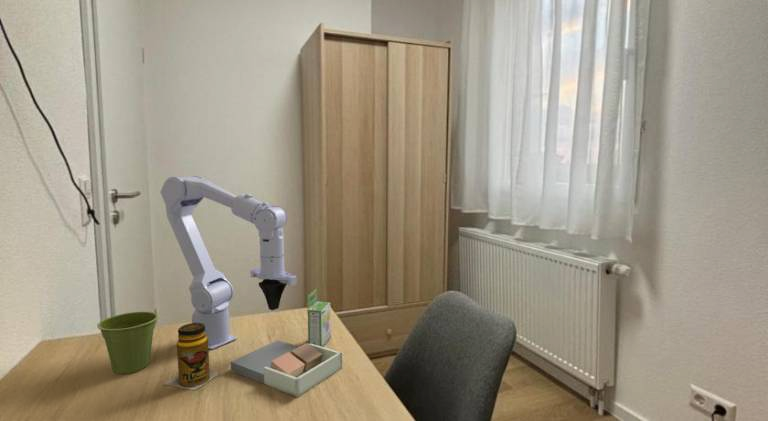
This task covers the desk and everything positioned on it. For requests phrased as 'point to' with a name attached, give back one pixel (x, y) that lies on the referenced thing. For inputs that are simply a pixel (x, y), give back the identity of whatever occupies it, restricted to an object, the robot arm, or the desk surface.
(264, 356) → the slate board
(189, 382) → the condiment
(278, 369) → the terracotta tile
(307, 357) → the walnut tile
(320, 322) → the ink box
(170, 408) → the desk surface
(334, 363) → the tray
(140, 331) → the plant pot
